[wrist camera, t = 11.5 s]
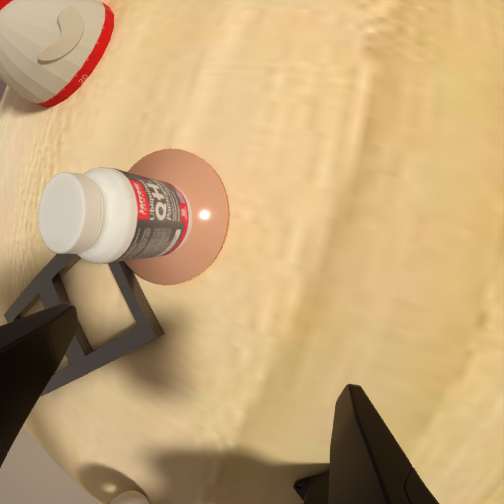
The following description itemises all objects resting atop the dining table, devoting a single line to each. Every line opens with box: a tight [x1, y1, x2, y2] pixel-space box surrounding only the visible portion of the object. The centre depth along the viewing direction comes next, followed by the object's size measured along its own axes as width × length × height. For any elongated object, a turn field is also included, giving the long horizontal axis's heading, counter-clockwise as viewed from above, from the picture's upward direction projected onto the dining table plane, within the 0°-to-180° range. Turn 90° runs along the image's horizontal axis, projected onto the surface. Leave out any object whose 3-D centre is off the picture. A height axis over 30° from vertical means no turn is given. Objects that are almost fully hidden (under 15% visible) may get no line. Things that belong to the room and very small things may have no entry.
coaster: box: [125, 149, 229, 285], centre depth 23 cm, size 10×10×1 cm
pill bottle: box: [38, 167, 192, 264], centre depth 18 cm, size 5×5×10 cm
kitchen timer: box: [0, 0, 114, 107], centre depth 19 cm, size 14×14×15 cm
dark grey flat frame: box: [4, 254, 165, 396], centre depth 27 cm, size 11×22×1 cm, turn 121°
